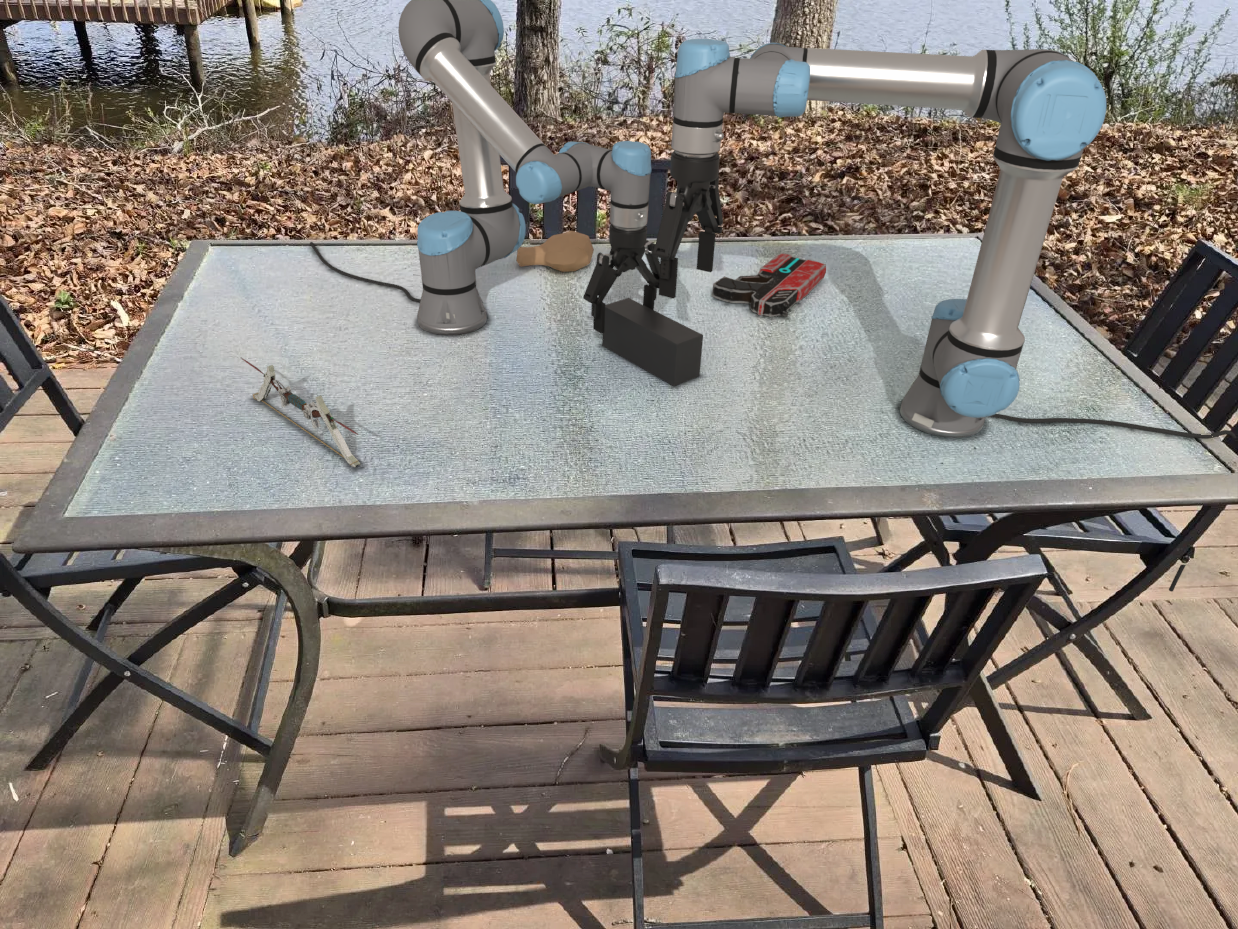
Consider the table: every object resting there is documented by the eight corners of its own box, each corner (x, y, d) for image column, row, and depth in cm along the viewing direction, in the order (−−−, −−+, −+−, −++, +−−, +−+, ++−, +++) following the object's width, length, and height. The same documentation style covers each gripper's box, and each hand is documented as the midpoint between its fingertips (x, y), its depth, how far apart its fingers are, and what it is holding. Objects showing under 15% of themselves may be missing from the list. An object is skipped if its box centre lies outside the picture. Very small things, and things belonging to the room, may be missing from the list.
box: (602, 345, 189) (602, 305, 184) (627, 337, 193) (628, 297, 187) (674, 386, 174) (676, 344, 169) (699, 376, 178) (703, 334, 173)
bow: (370, 470, 147) (362, 419, 141) (361, 474, 146) (352, 423, 140) (254, 390, 168) (243, 343, 163) (245, 394, 167) (233, 346, 162)
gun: (708, 284, 207) (784, 305, 199) (760, 245, 229) (831, 262, 221) (706, 302, 209) (781, 323, 201) (758, 261, 231) (828, 278, 223)
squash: (595, 275, 222) (590, 243, 216) (517, 282, 224) (510, 251, 218) (596, 253, 230) (591, 222, 224) (521, 260, 232) (514, 229, 225)
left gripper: (590, 242, 165) (588, 344, 177) (687, 218, 178) (678, 314, 190) (566, 231, 169) (565, 331, 181) (662, 208, 183) (655, 302, 195)
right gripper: (679, 174, 124) (671, 313, 136) (751, 138, 142) (737, 264, 154) (633, 165, 127) (629, 302, 139) (709, 132, 145) (699, 255, 157)
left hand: (623, 322), depth 186 cm, fingers open, 13 cm apart
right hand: (686, 282), depth 146 cm, fingers open, 13 cm apart
